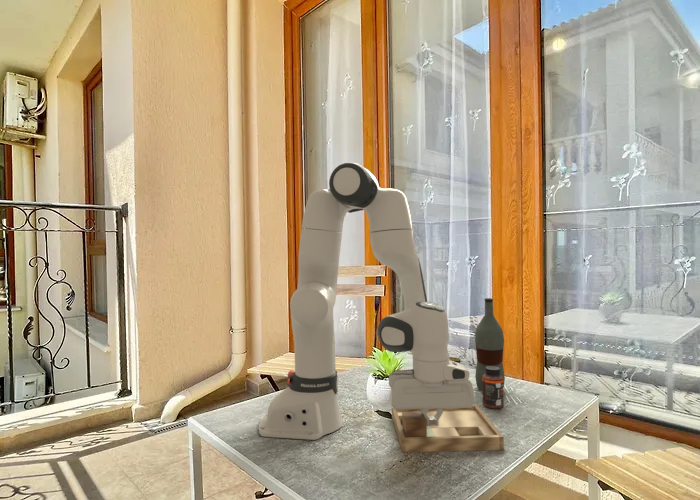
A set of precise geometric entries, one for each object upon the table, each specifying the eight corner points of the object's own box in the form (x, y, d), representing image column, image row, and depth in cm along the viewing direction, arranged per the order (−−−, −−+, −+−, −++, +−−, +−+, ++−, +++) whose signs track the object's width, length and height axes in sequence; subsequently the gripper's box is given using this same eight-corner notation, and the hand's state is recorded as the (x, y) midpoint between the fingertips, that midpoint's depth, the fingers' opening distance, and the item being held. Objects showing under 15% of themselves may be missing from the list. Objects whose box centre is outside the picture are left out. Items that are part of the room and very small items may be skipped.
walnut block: (405, 441, 99) (405, 420, 99) (402, 432, 104) (402, 412, 104) (426, 441, 99) (426, 420, 99) (422, 431, 104) (422, 411, 104)
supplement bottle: (505, 410, 121) (504, 371, 121) (483, 408, 123) (483, 370, 122) (502, 402, 127) (501, 365, 127) (481, 401, 128) (481, 364, 128)
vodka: (510, 389, 138) (509, 298, 138) (495, 396, 132) (494, 301, 132) (484, 382, 145) (483, 296, 145) (469, 388, 139) (468, 298, 139)
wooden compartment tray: (401, 452, 98) (401, 439, 98) (391, 417, 118) (391, 406, 118) (503, 449, 98) (503, 436, 98) (476, 414, 118) (476, 404, 118)
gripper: (390, 374, 99) (391, 432, 99) (476, 371, 99) (477, 429, 99) (387, 366, 105) (388, 421, 105) (468, 364, 106) (469, 418, 106)
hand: (432, 425), depth 102 cm, fingers closed
